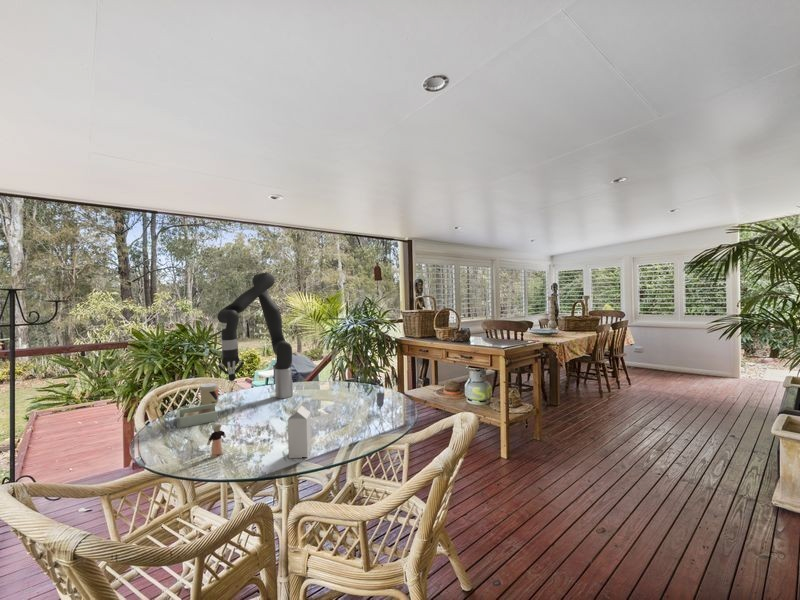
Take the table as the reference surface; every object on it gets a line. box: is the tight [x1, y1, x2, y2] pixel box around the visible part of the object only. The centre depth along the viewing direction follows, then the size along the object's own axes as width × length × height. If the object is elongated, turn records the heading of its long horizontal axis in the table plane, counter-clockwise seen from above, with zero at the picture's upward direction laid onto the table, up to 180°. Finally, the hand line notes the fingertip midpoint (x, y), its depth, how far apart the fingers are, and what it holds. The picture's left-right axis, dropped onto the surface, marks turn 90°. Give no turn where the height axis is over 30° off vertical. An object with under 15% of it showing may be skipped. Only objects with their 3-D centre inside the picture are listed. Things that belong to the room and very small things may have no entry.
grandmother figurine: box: [206, 421, 227, 459], centre depth 137 cm, size 8×4×13 cm, turn 164°
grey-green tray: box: [176, 403, 219, 429], centre depth 176 cm, size 17×15×4 cm
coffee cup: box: [199, 382, 220, 407], centre depth 197 cm, size 9×9×12 cm
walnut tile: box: [198, 408, 212, 414], centre depth 181 cm, size 6×6×3 cm
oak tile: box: [184, 411, 199, 417], centre depth 176 cm, size 6×6×3 cm
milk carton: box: [287, 402, 312, 459], centre depth 136 cm, size 7×7×19 cm
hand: (231, 381), depth 184 cm, fingers closed
